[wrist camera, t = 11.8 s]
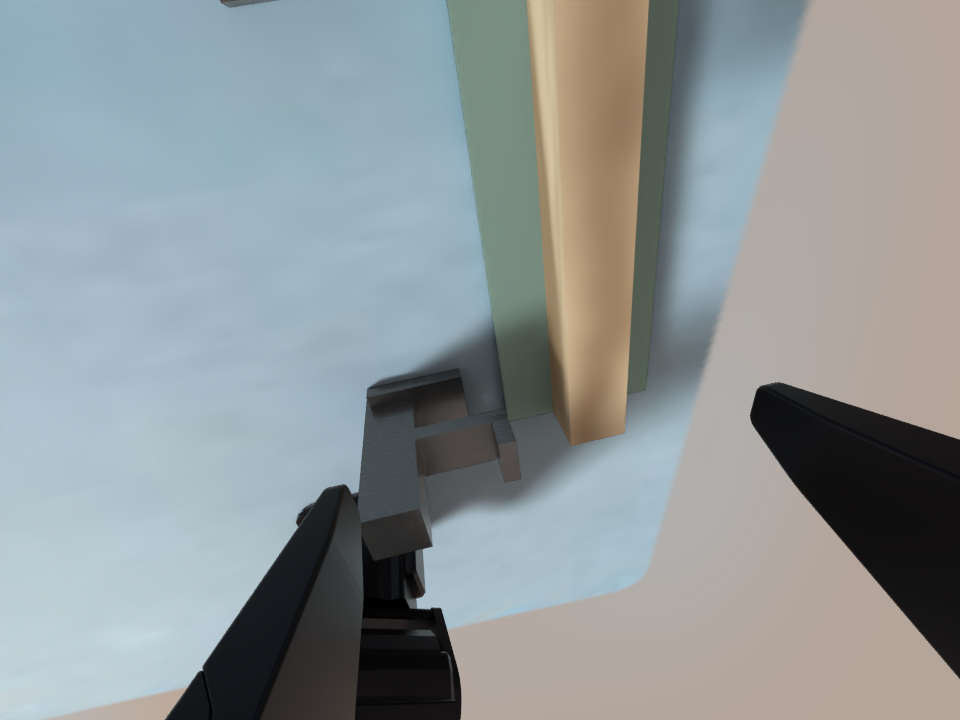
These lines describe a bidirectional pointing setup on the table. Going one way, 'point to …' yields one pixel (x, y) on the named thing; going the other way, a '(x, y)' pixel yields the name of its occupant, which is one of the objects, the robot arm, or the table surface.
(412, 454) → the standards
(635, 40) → the rail
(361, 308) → the table surface
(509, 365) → the mat
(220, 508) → the table surface
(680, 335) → the table surface
